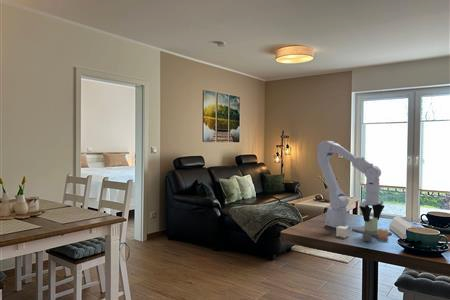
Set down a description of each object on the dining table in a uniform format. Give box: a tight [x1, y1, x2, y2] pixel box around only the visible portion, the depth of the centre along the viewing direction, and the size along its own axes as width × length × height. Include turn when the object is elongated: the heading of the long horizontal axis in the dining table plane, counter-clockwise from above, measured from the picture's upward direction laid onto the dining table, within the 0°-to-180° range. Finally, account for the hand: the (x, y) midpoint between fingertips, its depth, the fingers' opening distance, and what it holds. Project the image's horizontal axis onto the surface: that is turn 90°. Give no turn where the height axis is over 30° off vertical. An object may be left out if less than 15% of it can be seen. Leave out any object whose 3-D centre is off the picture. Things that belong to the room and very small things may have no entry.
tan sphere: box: [377, 228, 389, 241], centre depth 143 cm, size 4×4×4 cm
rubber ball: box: [361, 233, 372, 243], centre depth 139 cm, size 4×4×4 cm
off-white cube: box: [335, 226, 350, 239], centre depth 147 cm, size 4×4×4 cm
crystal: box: [388, 215, 416, 240], centre depth 150 cm, size 7×7×24 cm
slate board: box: [351, 225, 393, 238], centre depth 154 cm, size 14×10×1 cm
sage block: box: [364, 216, 379, 232], centre depth 154 cm, size 4×4×6 cm
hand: (371, 220), depth 154 cm, fingers open, 7 cm apart
